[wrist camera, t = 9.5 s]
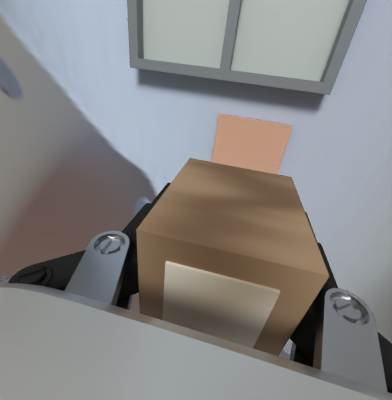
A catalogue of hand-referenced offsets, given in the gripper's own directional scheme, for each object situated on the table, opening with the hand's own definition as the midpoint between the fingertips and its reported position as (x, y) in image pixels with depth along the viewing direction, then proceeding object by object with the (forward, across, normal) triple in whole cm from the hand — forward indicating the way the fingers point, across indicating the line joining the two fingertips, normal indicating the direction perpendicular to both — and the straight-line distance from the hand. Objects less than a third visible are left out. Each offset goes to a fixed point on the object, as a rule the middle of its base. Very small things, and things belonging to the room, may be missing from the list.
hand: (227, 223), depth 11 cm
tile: (+11, 0, 0) cm, 11 cm away
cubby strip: (+11, +2, -10) cm, 15 cm away
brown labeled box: (+1, 0, 0) cm, 1 cm away
